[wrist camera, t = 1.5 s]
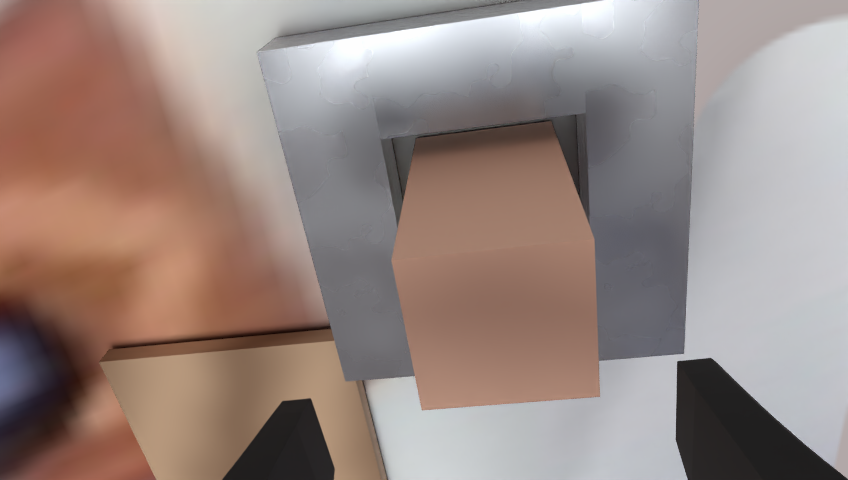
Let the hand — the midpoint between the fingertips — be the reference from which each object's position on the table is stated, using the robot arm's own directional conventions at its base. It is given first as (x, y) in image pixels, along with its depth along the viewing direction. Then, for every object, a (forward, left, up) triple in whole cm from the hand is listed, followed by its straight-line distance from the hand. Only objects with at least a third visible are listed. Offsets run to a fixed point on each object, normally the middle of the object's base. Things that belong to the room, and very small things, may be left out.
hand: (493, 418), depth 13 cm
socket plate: (0, 0, -11) cm, 11 cm away
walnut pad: (+11, +10, -11) cm, 18 cm away
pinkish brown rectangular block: (0, 0, -11) cm, 11 cm away
